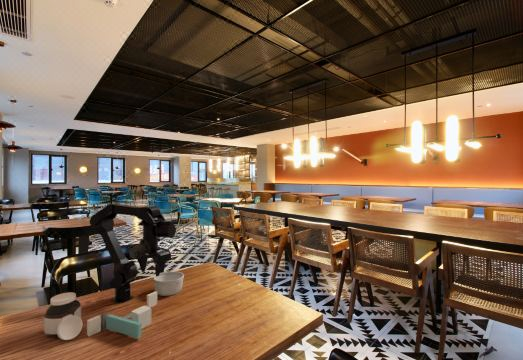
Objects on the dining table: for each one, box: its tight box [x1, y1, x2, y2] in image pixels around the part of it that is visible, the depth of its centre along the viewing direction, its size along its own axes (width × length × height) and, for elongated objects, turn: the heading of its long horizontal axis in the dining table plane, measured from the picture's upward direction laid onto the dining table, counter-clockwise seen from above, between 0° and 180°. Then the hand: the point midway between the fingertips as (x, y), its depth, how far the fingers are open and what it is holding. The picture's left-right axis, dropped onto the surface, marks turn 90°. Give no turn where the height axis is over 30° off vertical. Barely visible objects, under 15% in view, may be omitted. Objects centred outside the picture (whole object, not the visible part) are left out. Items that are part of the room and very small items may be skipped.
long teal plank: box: [105, 313, 142, 339], centre depth 86 cm, size 14×1×4 cm, turn 68°
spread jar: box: [43, 291, 83, 341], centre depth 87 cm, size 12×11×12 cm
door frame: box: [86, 290, 158, 337], centre depth 96 cm, size 2×26×5 cm, turn 149°
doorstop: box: [130, 305, 152, 330], centre depth 92 cm, size 4×5×6 cm
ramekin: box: [152, 270, 185, 297], centre depth 120 cm, size 13×13×7 cm
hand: (150, 274), depth 108 cm, fingers open, 9 cm apart
